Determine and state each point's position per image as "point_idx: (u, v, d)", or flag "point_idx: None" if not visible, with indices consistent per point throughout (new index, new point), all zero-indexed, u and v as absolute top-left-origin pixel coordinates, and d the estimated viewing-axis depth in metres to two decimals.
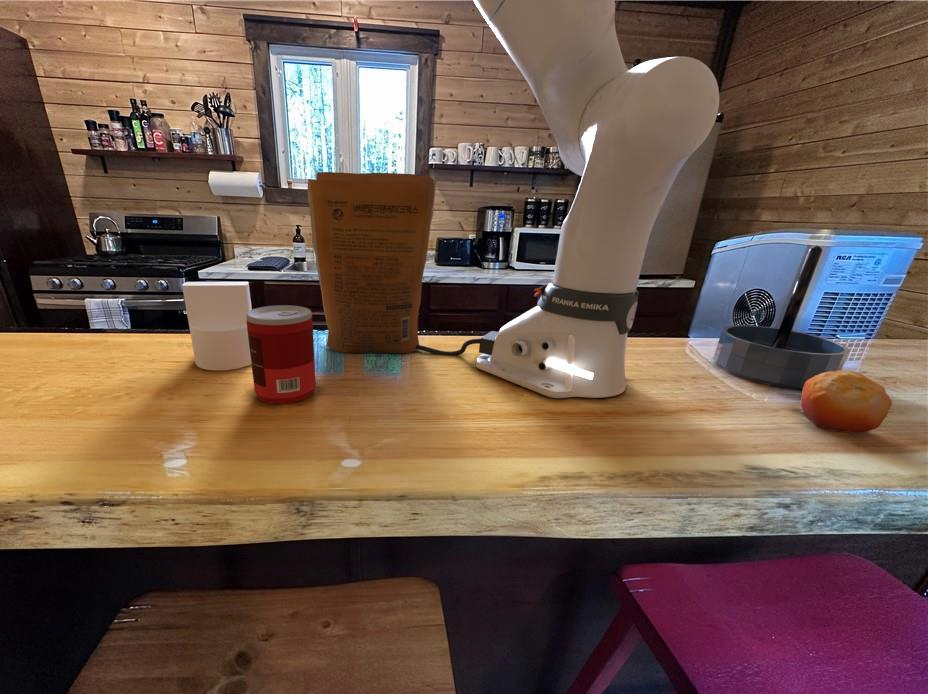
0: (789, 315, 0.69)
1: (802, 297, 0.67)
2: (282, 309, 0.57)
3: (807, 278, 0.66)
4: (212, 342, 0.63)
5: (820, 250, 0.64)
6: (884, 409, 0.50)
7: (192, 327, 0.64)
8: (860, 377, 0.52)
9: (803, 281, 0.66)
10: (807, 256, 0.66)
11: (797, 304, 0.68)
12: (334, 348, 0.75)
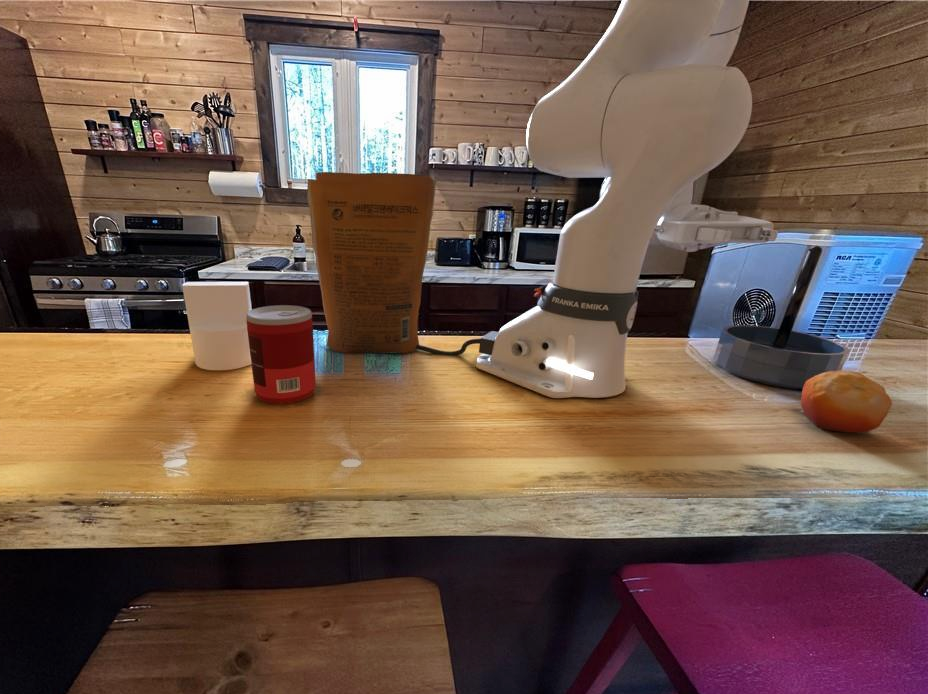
0: (789, 315, 0.69)
1: (802, 297, 0.67)
2: (282, 309, 0.57)
3: (807, 278, 0.66)
4: (212, 342, 0.63)
5: (820, 250, 0.64)
6: (884, 409, 0.50)
7: (192, 327, 0.64)
8: (860, 377, 0.52)
9: (803, 281, 0.66)
10: (807, 256, 0.66)
11: (797, 304, 0.68)
12: (334, 348, 0.75)
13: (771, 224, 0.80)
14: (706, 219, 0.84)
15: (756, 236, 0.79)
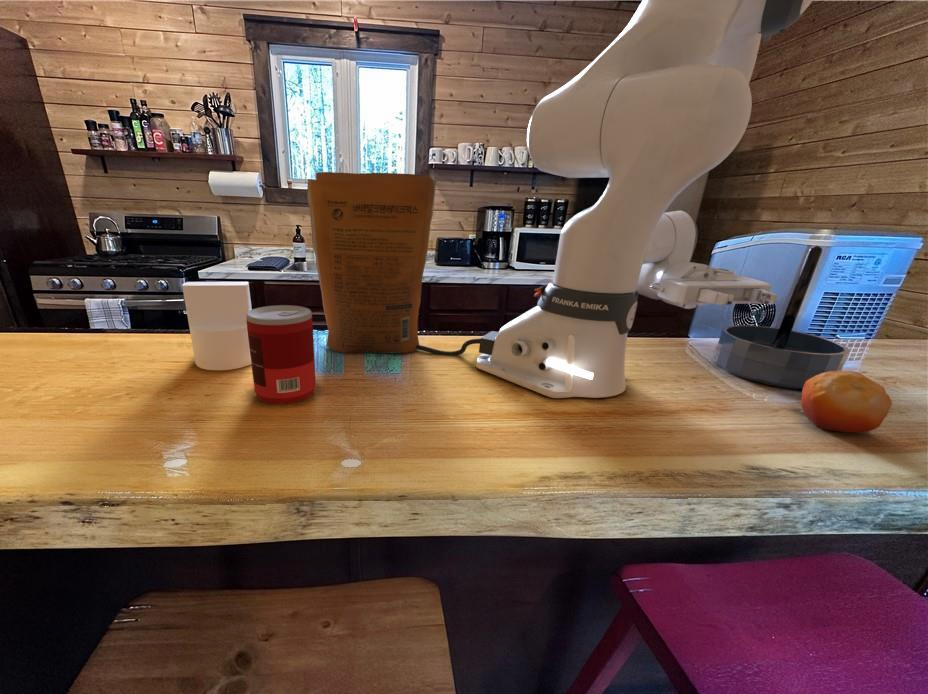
0: (789, 315, 0.69)
1: (802, 297, 0.67)
2: (282, 309, 0.57)
3: (807, 278, 0.66)
4: (212, 342, 0.63)
5: (820, 250, 0.64)
6: (884, 409, 0.50)
7: (192, 327, 0.64)
8: (860, 377, 0.52)
9: (803, 281, 0.66)
10: (807, 256, 0.66)
11: (797, 304, 0.68)
12: (334, 348, 0.75)
13: (769, 286, 0.81)
14: (705, 278, 0.84)
15: (755, 298, 0.80)
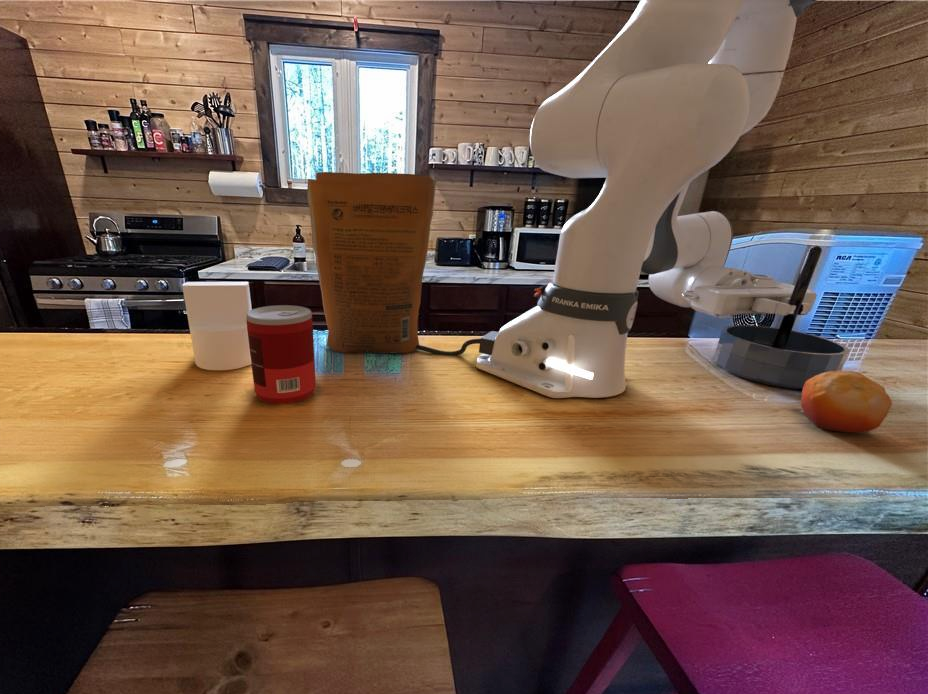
0: (789, 315, 0.69)
1: (802, 297, 0.67)
2: (282, 309, 0.57)
3: (807, 278, 0.66)
4: (212, 342, 0.63)
5: (820, 250, 0.64)
6: (884, 409, 0.50)
7: (192, 327, 0.64)
8: (860, 377, 0.52)
9: (803, 281, 0.66)
10: (807, 256, 0.66)
11: (797, 304, 0.68)
12: (334, 348, 0.75)
13: (814, 294, 0.73)
14: (742, 285, 0.76)
15: None
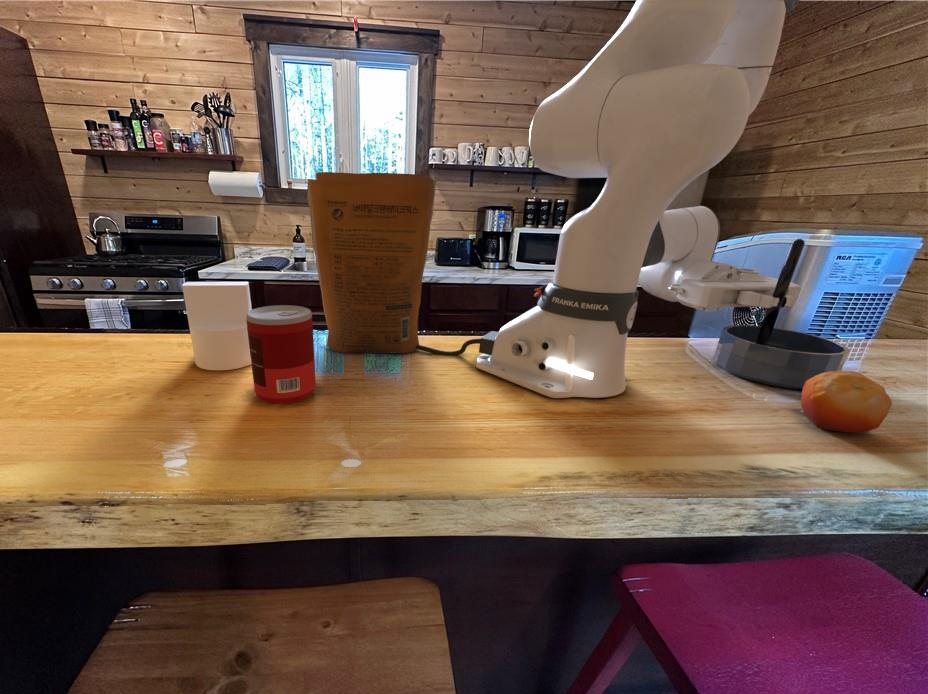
0: (773, 308, 0.69)
1: (786, 289, 0.68)
2: (282, 309, 0.57)
3: (790, 270, 0.67)
4: (212, 342, 0.63)
5: (802, 243, 0.65)
6: (884, 409, 0.50)
7: (192, 327, 0.64)
8: (860, 377, 0.52)
9: (786, 274, 0.67)
10: (790, 249, 0.66)
11: (780, 297, 0.68)
12: (334, 348, 0.75)
13: (798, 287, 0.74)
14: (728, 279, 0.77)
15: None
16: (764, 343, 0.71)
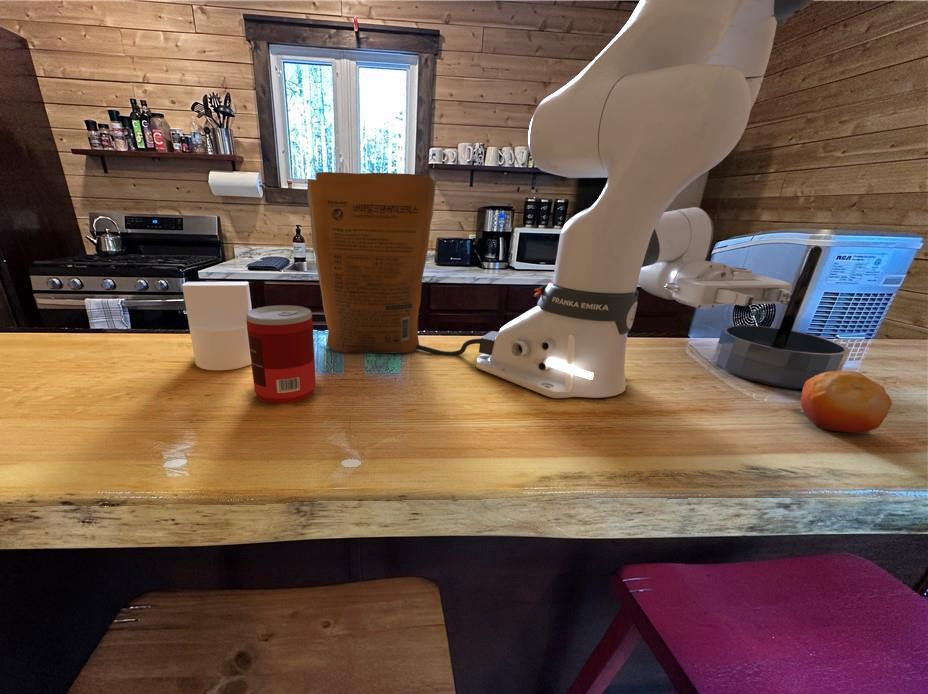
0: (789, 315, 0.69)
1: (802, 297, 0.67)
2: (282, 309, 0.57)
3: (807, 278, 0.66)
4: (212, 342, 0.63)
5: (820, 250, 0.65)
6: (884, 409, 0.50)
7: (192, 327, 0.64)
8: (860, 377, 0.52)
9: (803, 281, 0.66)
10: (807, 256, 0.66)
11: (797, 304, 0.68)
12: (334, 348, 0.75)
13: (789, 285, 0.77)
14: (722, 278, 0.80)
15: (775, 298, 0.76)
16: None
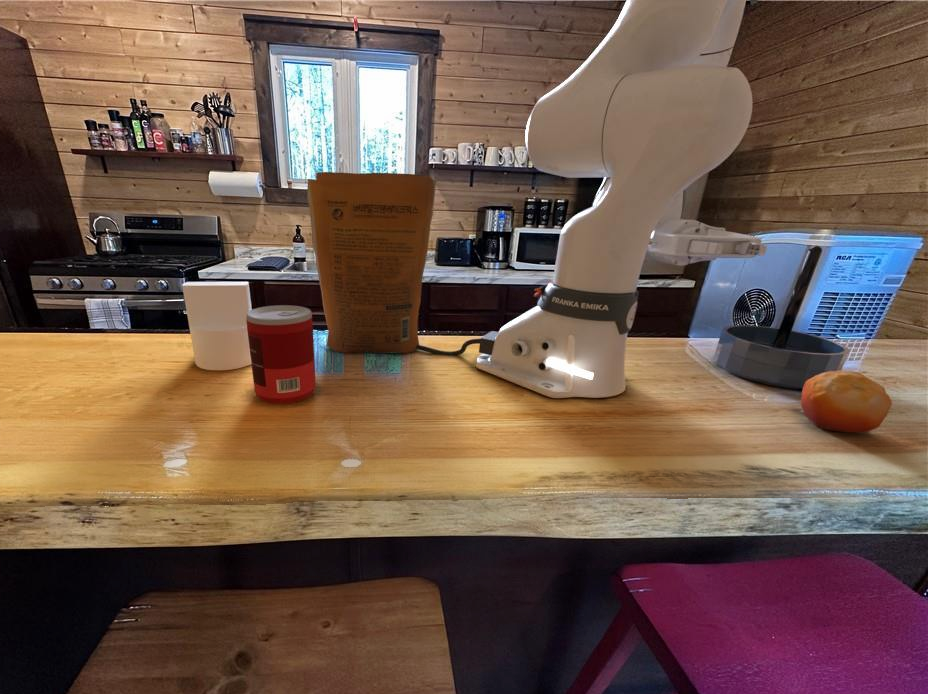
0: (789, 315, 0.69)
1: (802, 297, 0.67)
2: (282, 309, 0.57)
3: (807, 278, 0.66)
4: (212, 342, 0.63)
5: (820, 250, 0.65)
6: (884, 409, 0.50)
7: (192, 327, 0.64)
8: (860, 377, 0.52)
9: (803, 281, 0.66)
10: (807, 256, 0.66)
11: (797, 304, 0.68)
12: (334, 348, 0.75)
13: (759, 239, 0.82)
14: (696, 233, 0.85)
15: (745, 251, 0.81)
16: None
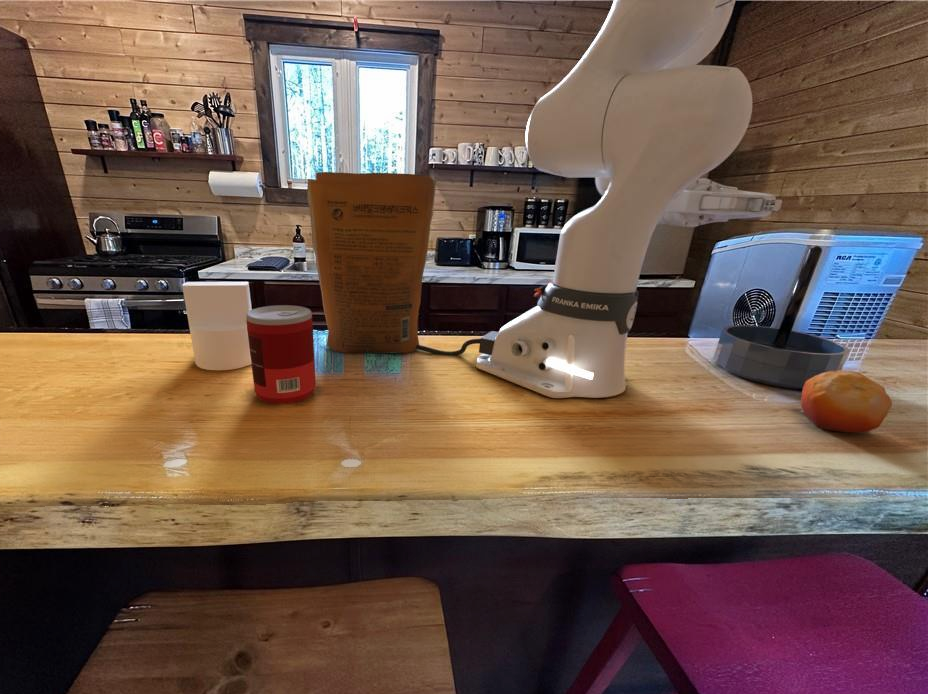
0: (789, 315, 0.69)
1: (802, 297, 0.67)
2: (282, 309, 0.57)
3: (807, 278, 0.66)
4: (212, 342, 0.63)
5: (820, 250, 0.65)
6: (884, 409, 0.50)
7: (192, 327, 0.64)
8: (860, 377, 0.52)
9: (803, 281, 0.66)
10: (807, 256, 0.66)
11: (797, 304, 0.68)
12: (334, 348, 0.75)
13: (773, 196, 0.79)
14: (708, 192, 0.82)
15: (759, 207, 0.78)
16: None
